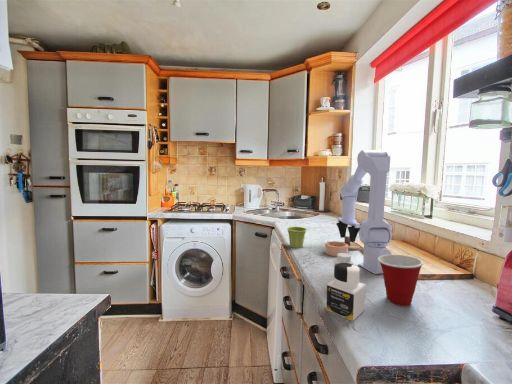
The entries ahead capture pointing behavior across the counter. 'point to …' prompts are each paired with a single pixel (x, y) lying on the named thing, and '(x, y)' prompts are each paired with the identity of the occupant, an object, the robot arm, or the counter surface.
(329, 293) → the medicine bottle
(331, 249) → the bowl
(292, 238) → the plant pot
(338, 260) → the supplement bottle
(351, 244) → the lid
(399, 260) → the plastic cup
